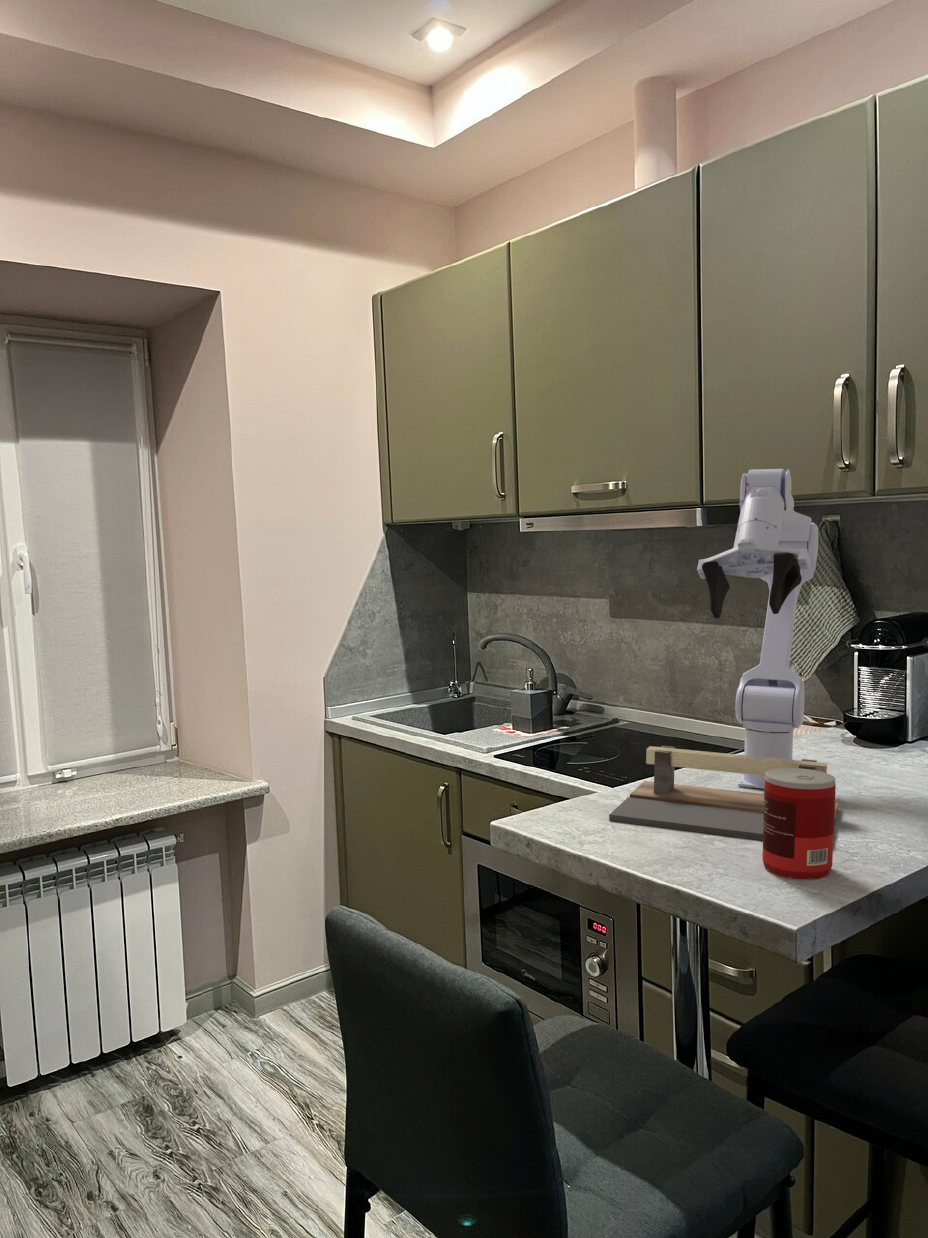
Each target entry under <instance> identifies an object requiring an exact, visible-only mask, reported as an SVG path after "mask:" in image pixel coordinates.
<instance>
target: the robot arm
mask: <svg viewBox="0 0 928 1238" xmlns="http://www.w3.org/2000/svg"><path fill="white" fill-rule="evenodd" d="M792 488H793V487H792V475H791V471H790V469H787V470H785V469H784V468H766V469H765V468H763V469H762V468H761V469H759V468H758V469H748V472H747V473H742V476H741V480H740V491H739V492H740V498H739V510H740V514H739V517H738V521H737V529H736V533H735V536H734V537H735V538H734V543H733V548H731V549H728V550H725V551H723V552H721V553H718V554H716V555H713V556H711V557H708V558H703V559H698V564H697V568H696V571H697V573H698V575H699V578H700V579H701V580H704V579H705V580H706V583H707V588H708V592H709V593H708V594H709V599H710V600H709V602H710V604H709V605H710V608H709V610H710V612H711V613H712V616H713V618H714V619H720V618H721V615H722V611H723V606H724V602H725V598H726V596H727V594H728V592H729V590H731V589H730V588H731V586H730V583H729V582H728V581H729V580H728V579H727V577H726V575H728V576H729V575H730V576H735V577H743V578H752V579H761V580H762V581H763V582H766V583H767V586H768V590H769V593H768V594H769V595H768V601H767V607H766V608H767V609H766V617H765V623H764V630H763V631H764V632H763V637H762V645H761V652H760V659H759V660H760V661H759V664H758V665H756V666H755V667H753V668H751V669H748V670H747V671H745V672H743V674H742V677H740V680H739V685H738V688H737V689H736V693H735V694H736V695H735V704H734V708H735V718H736V721H738V723H739V724H742V728H743V729H744V751H743V752H744V754H743V755H747V756H758V757H768V758H779V759H789V760H793V747H794V730H795V729H799V728H800V727H801V726H802V725H803V723H804V715H805V693H806V691H805V682H804V681H803V678H802V677H801V676H800V675H799V674H797V673H796V672H795V671H793V670H792V669H791V668H790V661H791V654H792V645H793V637H794V631H795V630H794V629H795V628H794V627H795V620H796V612H797V603H798V598H799V596H800V595H799V594H800V592H801V589H802V586H803V584H804V583H806V582H808V581H810V580H811V579H813V578H814V575H815V573H814V572H816V568H817V559H818V553H819V539H820V538H819V537H820V536H819V527H818V525H817V524H816V523H815V522H813V521H812V517H811V516H807V515H806V514H805V515H804V514H802V513H800V512H797V511H795V510H794V508H795V501H794V497H793V495H792ZM737 786H738V787H744V788H745V787H746V788H755V789H764V787H765V776H761V775H752V774H742V776H741V778H740V779H739V780H738V782H737Z"/></svg>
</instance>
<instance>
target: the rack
mask: <svg viewBox="0 0 928 1238" xmlns="http://www.w3.org/2000/svg"><path fill="white" fill-rule="evenodd" d="M660 747H663V748H674V749H676V747H675V746H667V745H661V746H660ZM669 754H670V752H666V751H655V761H654V764H653V765H654V766H653V768H654V769H653V771H654V772H653V781H651V780H650V781H649V780H644V781H643V782H641V783H640V784H639V785H638V786H637V787H636V788H635V789H634V790H633V791H632V792H631V793H629V797H630V798H639V799H647V800H655V801H664V802H672V803H681V804H689V805H698V806H706V807H715V808H723V809H731V810H740V811H748V812H757V813H764V793H758V792H757V793H756V792H750V791H738V790H731V789H721V788H713V787H705V786H704V787H703V786H695V785H685V784H677V783H675V767H674V766H669ZM800 761H810V762H818V761H817V759H816V760H815V759H807V758H801V760H800ZM799 768H801V769H810V770H815V766H811V765H801V764H799ZM839 803H840V802H839V801H835V816H834V827H835V825H836V822H837V817H838V813H839V808H840V807H839Z"/></svg>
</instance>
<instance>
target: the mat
mask: <svg viewBox="0 0 928 1238" xmlns="http://www.w3.org/2000/svg"><path fill="white" fill-rule="evenodd" d="M763 819H764V813H757V812H748V811H740V810H731V809H723V808H715V807H706V806H698V805H689V804H681V803H672V802H664V801H655V800H647V799H639V798H630V796H629V797H627V798H625V799H624V800H623V801H622V802H621V803H620V804H619V805H617V807H616V808H614V809H613V810H612V812H610V813H609V815H608V821H610V822H611V821H613V822H618V823H619V822H620V823H627V824H634V825H635V824H636V825H642V826H650V827H659V828H667V829H672V830H673V829H674V830H681V831H682V830H683V831H688V832H690V831H691V832H695V833H697V832H698V833H705V834H713V835H721V836H727V837H737V838H742V839H743V838H744V839H752V840H758V841H763Z"/></svg>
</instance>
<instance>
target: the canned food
mask: <svg viewBox="0 0 928 1238" xmlns="http://www.w3.org/2000/svg"><path fill="white" fill-rule="evenodd" d="M836 787H837V784H836V778H835V776H834V775H832V774H830V773H828V772H827V773H825V772H821V771H816V770H810V769H801V768H779V769H773V770H770V771H767V772H766V776H765V787H764V790H763V794H764V819H763V840H762V854H761V855H762V858H761V859H762V863H763V866H764V868H765V869H766V870H767V871H768V872H771V873H773V874H774V875H778V876H781V877H783V878H788V879H789V878H790V879H795V880H796V879H797V880H817V879H822V878H824V877H827V876H828V875H829V874H830V872H831V870H832V867H833V860H834V859H833V857H834V855H833V854H834V838H835V837H834V835H835V833H834V832H835V826H834V816H835V802H836Z"/></svg>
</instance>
